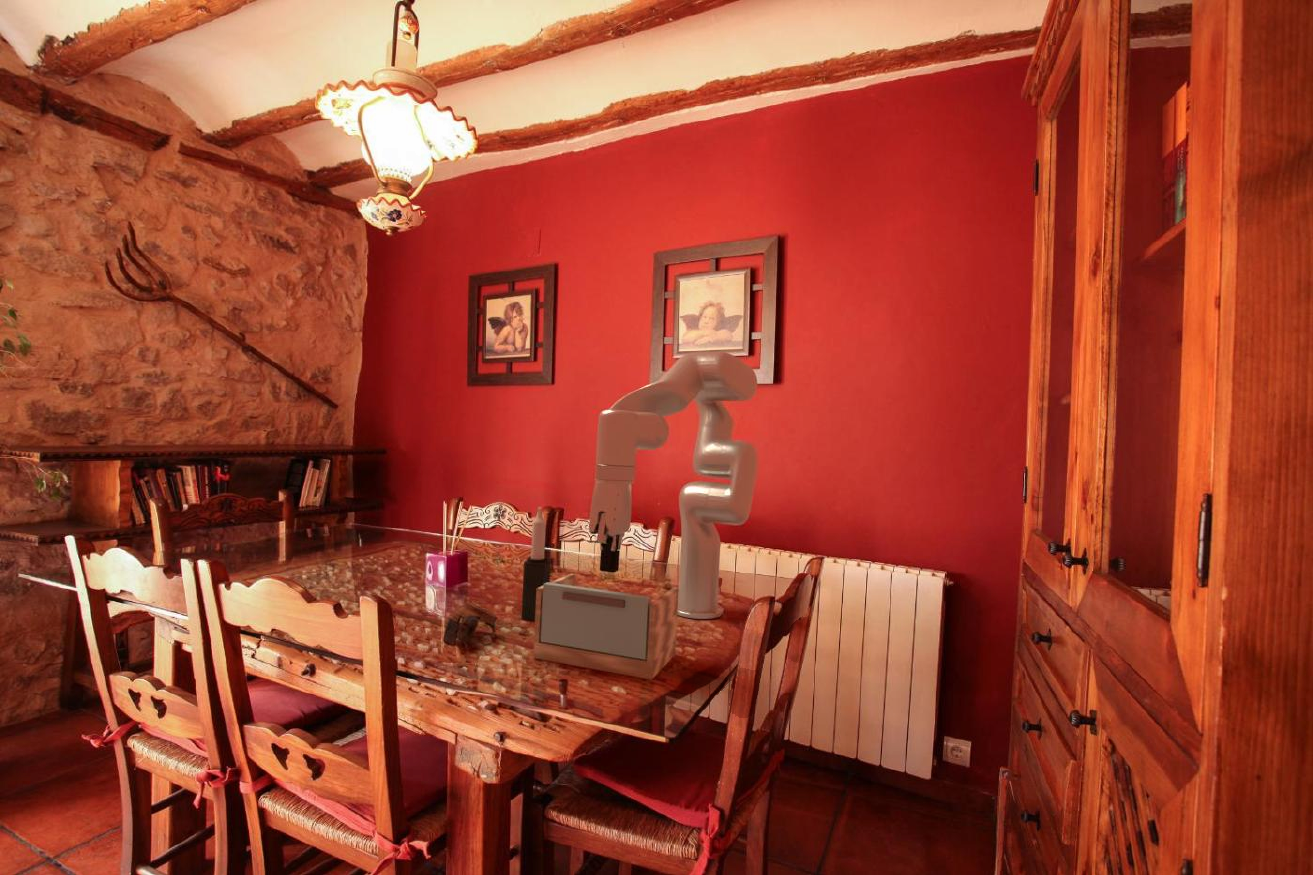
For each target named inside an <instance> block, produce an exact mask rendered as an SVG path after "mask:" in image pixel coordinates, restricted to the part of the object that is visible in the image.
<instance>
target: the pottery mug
mask: <svg viewBox="0 0 1313 875" xmlns="http://www.w3.org/2000/svg"><path fill="white" fill-rule="evenodd" d="M461 619H462V620H461ZM497 619H498V617H497V616H496V615H495V614H493V613H492V612H490V611H488V610H486V609H484V608H482V607H480V606H478V605H476V604H474V603H472V602H469V601H465V603H464V605H463V606H462V607H459V608H457V609H456V610H454V612H453V613H452V614H451V616H450V618H449V619H448V622H447V624H446V626H445V630H444V634H443V636H442V639H443V641H445V642H446V643H448V644H450V645H452V646H455V645H456V642H457V640H458V641H459V642H460V643H462V644H465V643H470V642H471V639H472V637H473V634H474V632H476V630H477V628H478V626H479V621H480V622H482V623H484V625H486V626H489V627H490V628H491V629H492V632H491V634H490V639H491V638H492V639H494V637H495V633H496V628H497V627H496V621H497Z"/></svg>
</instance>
